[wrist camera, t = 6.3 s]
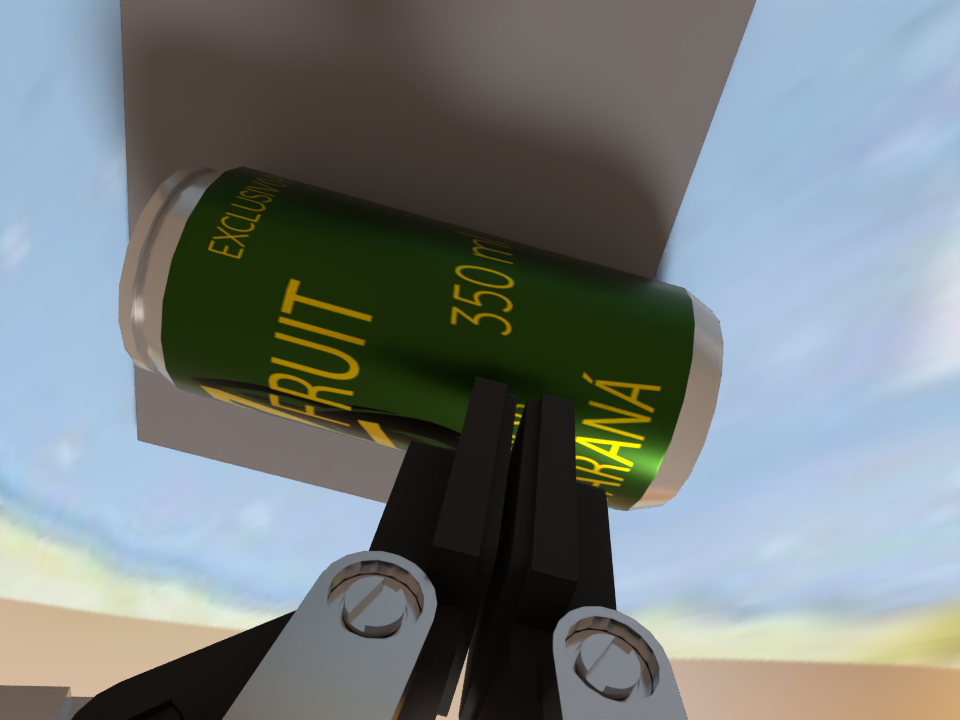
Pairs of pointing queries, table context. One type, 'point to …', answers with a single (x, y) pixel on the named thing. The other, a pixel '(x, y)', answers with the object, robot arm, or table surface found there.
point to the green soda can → (412, 326)
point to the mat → (422, 144)
